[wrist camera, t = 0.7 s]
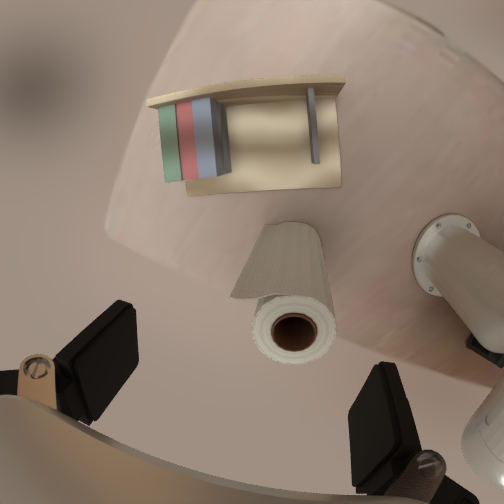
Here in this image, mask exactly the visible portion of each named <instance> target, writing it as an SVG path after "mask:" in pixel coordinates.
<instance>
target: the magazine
mask: <svg viewBox="0 0 504 504" xmlns="http://www.w3.org/2000/svg"><path fill="white" fill-rule="evenodd" d="M466 347H467V348H469V349H471V350H473V351H474V352H476V353H477V354H479V355H481V356H482V357H484V358H486V359H487V360H489V361H491V362H492V363H494V364H496V365H497V366H498V367H500V368H503V366H504V353H495V352H492V351H489V350H487V349H486V348H484V347H483V346H482V345H481V344H480V343H479V342H478V340H477V339H476V338H475V336H474V335H473V336H472V338H471V340H470V341H469V343H468V344H467V345H466Z"/></svg>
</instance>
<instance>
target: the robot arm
mask: <svg viewBox="0 0 504 504" xmlns="http://www.w3.org/2000/svg"><path fill="white" fill-rule="evenodd" d="M436 225H437V226H436ZM417 257H418V258H417ZM412 268H413V272H414V276H415V278H416V280H417V282H418V283H419V285H420V286H421V287H422V288H423V289H424V290H425V291H426V292H427V293H429V294H431V295H434V296H439V297H444V298H445V299H446V301H447V302H448V303H449V304H450V306H451V307H452V308H453V309H454V310H455V312H456V313H457V314H458V315H459V317H460V318H461V319H462V321H463V322H464V323H465V324H466V326H467V327H468V328H469V330H470V331H471V332H472V334H473V335H474V336H475V338H476V339H477V340H478V342H479V343H480V344H481V345H482V346H483V347H484V348H486V349H487V350H489V351H492V352H495V353H504V252H503V251H501V250H500V249H498V247H495V246H493V245H491V244H490V243H488V242H486V241H485V240H483V239H481V236H480V233H479V231H478V229H477V227H476V226H475V225H474V223H473V222H472V221H470V220H469V219H468V218H466V217H464V216H461V215H458V214H446V215H442V216H440V217H438V218H436V219H434V220H433V221H432V222H430V223H429V224H428V225H427V226H426V227H425V228H424V230H423V231H422V232H421V234H420V235H419V237H418V239H417V241H416V244H415V247H414V250H413V257H412ZM138 362H139V354H138V340H137V322H136V310H135V309H134V308H133V305H132V304H131V303H128V302H125V301H122V300H117V301H116V302H114V303H113V304H112V305H111V306H110V307H109V308H108V309H107V310H106V311H104V312H103V313H102V314H101V315H100V316H99V317H97V318H96V319H95V320H94V321H93V322H92V323H91V324H89V325H88V326H87V327H86V328H85V329H84V330H83V331H82V332H81V333H79V334H78V335H77V336H76V337H75V338H74V339H73V340H72V341H71V342H70V343H68V344H67V345H66V346H65V347H64V348H63V349H62V350H61V351H60V352H59V353H58V354H57V355H56V357H55V358H54V359H53V360H52V359H51V358H49V357H48V356H45V355H42V354H35V355H31V356H28V357H27V358H25V359H24V360H23V361H22V363H21V364H20V368H19V369H18V370H6V371H0V504H479V500H478V499H477V497H476V496H475V495H474V494H472V493H471V492H469V491H468V490H466V489H465V488H463V487H462V486H460V485H459V484H457V483H456V482H455V481H453V480H452V479H450V478H449V477H447V476H446V475H445V473H446V462H445V460H444V458H443V457H442V456H441V455H440V454H439V453H438V452H435V451H433V450H422V448H421V445H420V440H419V436H418V433H417V429H416V425H415V422H414V418H413V415H412V411H411V408H410V405H409V401H408V399H407V398H406V395H405V391H404V388H403V385H402V382H401V379H400V376H399V373H398V370H397V367H396V365H395V363H390V362H382V361H381V362H380V363H379V364H378V365H377V364H376V365H374V367H373V369H372V371H371V372H370V375H369V376H368V378H367V380H366V382H365V384H364V385H363V387H362V389H361V391H360V393H359V394H358V396H357V398H356V400H355V401H354V403H353V405H352V406H351V408H350V410H349V414H348V424H349V438H350V453H351V474H352V486H353V487H356V493H357V494H360V493H361V494H365V493H366V494H367V495H334V494H320V493H319V494H318V493H307V492H298V491H289V490H282V489H275V488H269V487H263V486H257V485H252V484H247V483H242V482H237V481H233V480H228V479H224V478H220V477H216V476H213V475H209V474H205V473H202V472H198V471H195V470H192V469H189V468H185V467H182V466H179V465H176V464H173V463H170V462H168V461H165V460H162V459H159V458H156V457H154V456H151V455H149V454H146V453H144V452H141V451H139V450H136V449H134V448H132V447H129V446H127V445H125V444H122V443H120V442H118V441H116V440H114V439H112V438H110V437H108V436H105V435H103V434H101V433H99V432H97V431H95V430H93V429H91V428H89V427H87V426H85V425H83V424H82V423H80V422H78V421H79V420H80V421H81V422H83V423H85V424H87V425H88V426H89V425H90V424H91V423H92V422H93V420H94V421H97V420H98V419H99V418H100V416H101V415H102V413H103V412H104V411H105V409H106V407H108V405H109V404H110V402H111V401H112V400H113V398H114V397H115V395H116V394H117V393H118V391H119V390H120V389H121V387H122V386H123V385H124V383H125V382H126V381H127V379H128V378H129V377H130V375H131V374H132V373H133V371H134V370H135V368H136V367H137V365H138ZM461 446H462V452H463V455H464V458H465V460H466V462H467V463H468V465H469V466H470V467H471V469H472V470H473V471H474V472H475V473H476V474H477V475H478V476H479V477H480V478H482V479H483V480H484V481H486V482H487V483H489V484H490V485H491V486H493V487H494V488H496V489H498V490H499V491H501V492H502V493H504V373H503V375H502V376H501V378H500V379H499V381H498V382H497V384H496V385H495V386H494V388H493V389H492V391H491V392H490V394H489V395H488V396H487V397H486V399H485V400H484V401H483V403H482V404H481V405H480V406H479V408H478V409H477V410H476V412H475V413H474V415H473V416H472V417H471V418H470V420H469V422H468V423H467V425H466V427H465V429H464V431H463V434H462V441H461Z"/></svg>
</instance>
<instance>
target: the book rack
mask: <svg viewBox="0 0 504 504" xmlns="http://www.w3.org/2000/svg"><path fill="white" fill-rule="evenodd" d="M345 83H346V80H345V75H303V76H285V77H272V78H261V79H252V80H244V81H236V82H229V83H222V84H216V85H210V86H204V87H199V88H194V89H189V90H184V91H179V92H175V93H170V94H166V95H162V96H158V97H154V98H150V99H146V107H150V108H155V109H158V113H159V126H160V138H161V148H162V158H163V167H164V176H165V183H166V182H174V181H182V180H185V181H186V190H187V196H197V195H208V194H220V193H232V192H246V191H262V190H280V189H301V188H333V187H341V168H340V151H339V137H338V124H337V113H336V103H335V99H336V97H337V95H338V94H339V92H340V91H341V89H342V88H343V86H344V85H345Z"/></svg>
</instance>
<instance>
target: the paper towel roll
mask: <svg viewBox="0 0 504 504" xmlns="http://www.w3.org/2000/svg"><path fill="white" fill-rule="evenodd" d="M229 298H232V299H236V300H254V299H259V301H258V304H257V308H256V311H255V315H254V319H253V325H252V330H251V331H252V334H253V338H254V341H255V344H256V345H257V347H258V348H259V349H260V350H261V351H262V352H263V353H264V354H265V355H266V356H268V357H269V358H271V359H273V360H275V361H277V362H280V363H286V364H292V365H296V364H303V363H309V362H311V361H313V360H315V359H317V358H320V357H322V356H323V355H324V354H325V353H326V352H327V350H329V349H330V348H331V346H332V345H333V342H334V339H335V336H336V334H337V328H336V320H335V314H334V308H333V302H332V297H331V292H330V286H329V281H328V276H327V271H326V266H325V261H324V256H323V251H322V247H321V242H320V237H319V235H318V233H317V232H316V230H315V229H314V228H313V227H311V226H310V225H308V224H305V223H299V222H289V221H288V222H284V223H281V224H278V225H267V224H265V226H264V228H263V230H262V232H261V234H260V236H259V238H258V240H257V242H256V244H255V246H254V248H253V250H252V252H251V254H250V256H249V258H248V260H247V262H246V264H245V266H244V268H243V271H242V273H241V275H240V277H239V279H238V281H237V283H236V285H235V287H234V289H233V291H232V293H231V295H230V297H229Z"/></svg>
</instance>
